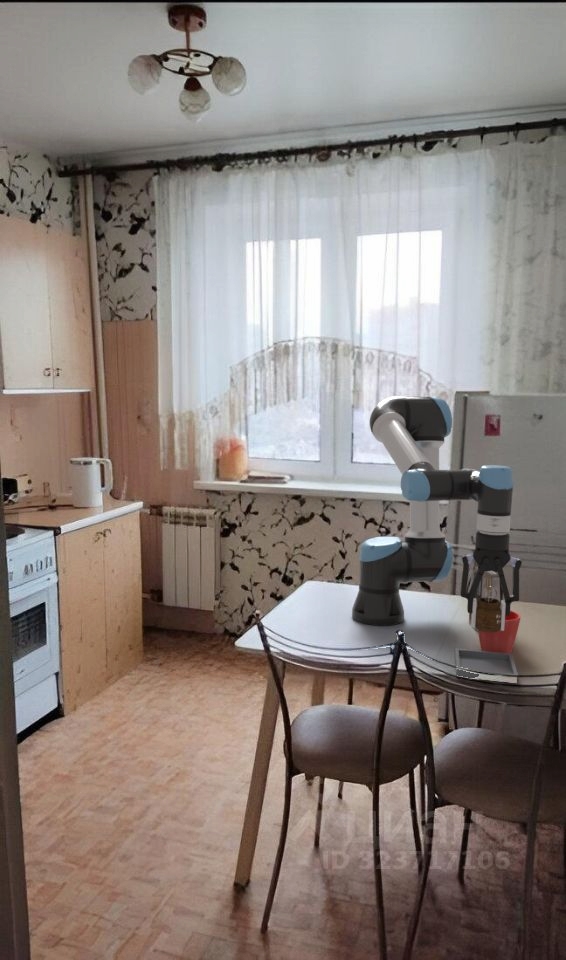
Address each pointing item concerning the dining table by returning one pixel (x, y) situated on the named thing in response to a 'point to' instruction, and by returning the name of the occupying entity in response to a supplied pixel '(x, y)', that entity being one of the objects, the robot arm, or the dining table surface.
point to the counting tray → (484, 662)
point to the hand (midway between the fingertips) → (487, 627)
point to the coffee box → (482, 586)
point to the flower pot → (501, 636)
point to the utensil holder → (488, 612)
